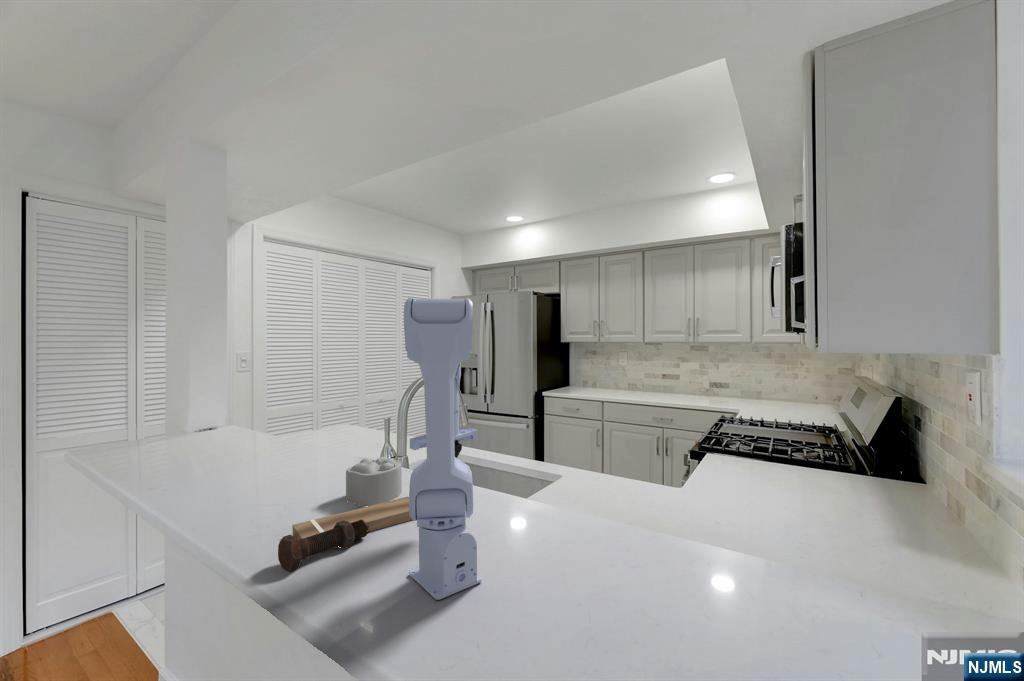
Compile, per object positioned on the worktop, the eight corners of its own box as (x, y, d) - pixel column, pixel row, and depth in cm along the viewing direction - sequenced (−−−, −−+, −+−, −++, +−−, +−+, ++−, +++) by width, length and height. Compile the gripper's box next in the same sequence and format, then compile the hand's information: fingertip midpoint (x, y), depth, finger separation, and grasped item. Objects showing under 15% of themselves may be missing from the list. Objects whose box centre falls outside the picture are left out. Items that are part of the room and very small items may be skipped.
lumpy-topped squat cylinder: (340, 500, 103) (339, 463, 103) (383, 484, 114) (383, 451, 114) (369, 509, 98) (368, 470, 98) (412, 492, 109) (412, 457, 109)
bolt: (366, 548, 83) (286, 580, 72) (354, 529, 86) (274, 556, 74) (376, 525, 82) (295, 553, 70) (363, 506, 84) (283, 530, 73)
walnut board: (424, 516, 93) (424, 506, 93) (303, 550, 78) (302, 538, 78) (408, 505, 100) (407, 496, 100) (292, 535, 85) (292, 524, 85)
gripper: (464, 406, 96) (464, 468, 96) (402, 413, 87) (402, 482, 87) (483, 410, 90) (483, 476, 90) (419, 418, 81) (419, 491, 81)
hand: (445, 479), depth 88 cm, fingers closed
